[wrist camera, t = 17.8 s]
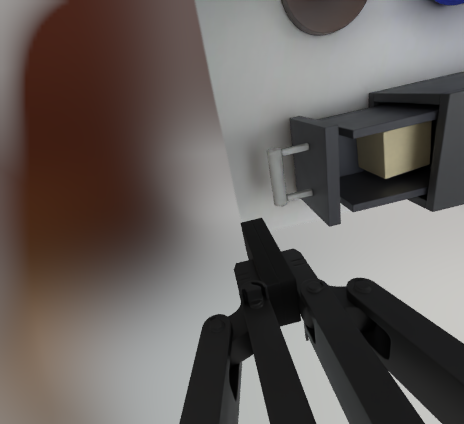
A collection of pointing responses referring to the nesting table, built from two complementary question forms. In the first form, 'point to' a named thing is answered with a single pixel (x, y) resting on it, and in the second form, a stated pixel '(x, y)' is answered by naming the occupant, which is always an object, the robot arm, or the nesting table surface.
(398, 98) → the cabinet
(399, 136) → the cream foam cube
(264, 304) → the robot arm
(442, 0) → the mug
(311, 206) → the drawer
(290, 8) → the paper towel holder
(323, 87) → the nesting table surface
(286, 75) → the nesting table surface
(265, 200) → the nesting table surface
